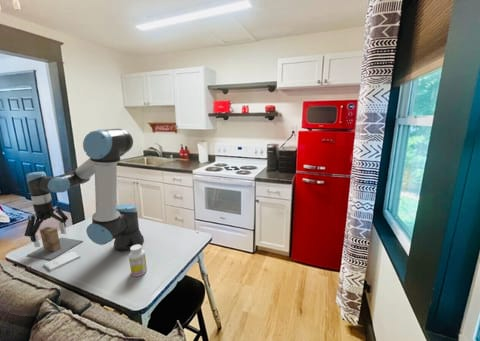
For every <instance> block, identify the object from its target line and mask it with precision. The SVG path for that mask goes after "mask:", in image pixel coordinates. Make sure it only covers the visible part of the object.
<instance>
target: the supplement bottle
mask: <svg viewBox="0 0 480 341" xmlns="http://www.w3.org/2000/svg"><path fill="white" fill-rule="evenodd" d="M142 246H143V245H139V244H137V245H133V246H132V247H131V248H130V251H129V252H130V253H129V254H128V261H129V267H130V273H131V275H132V276H134V277H139V276H142V275H145V273H146V272H147V270H148V268H147V267H148V266H147V259H146V252H145V250H144V249H143V248H142Z"/></svg>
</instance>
